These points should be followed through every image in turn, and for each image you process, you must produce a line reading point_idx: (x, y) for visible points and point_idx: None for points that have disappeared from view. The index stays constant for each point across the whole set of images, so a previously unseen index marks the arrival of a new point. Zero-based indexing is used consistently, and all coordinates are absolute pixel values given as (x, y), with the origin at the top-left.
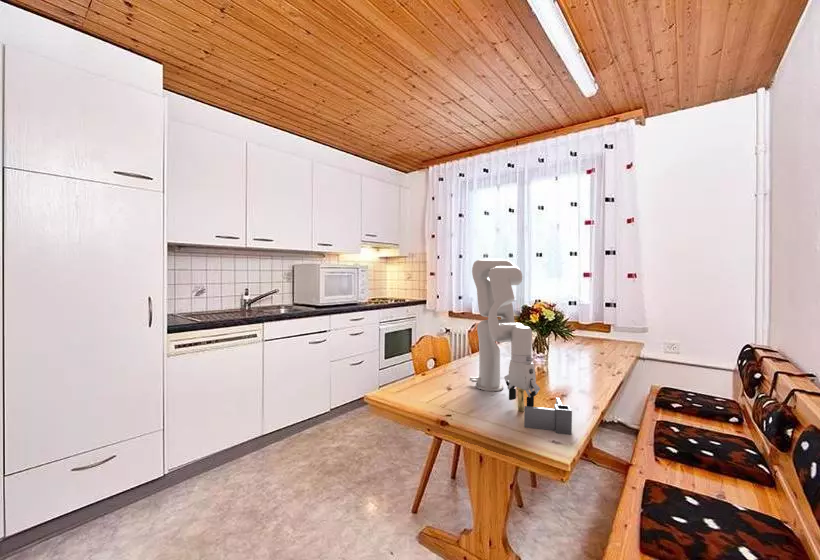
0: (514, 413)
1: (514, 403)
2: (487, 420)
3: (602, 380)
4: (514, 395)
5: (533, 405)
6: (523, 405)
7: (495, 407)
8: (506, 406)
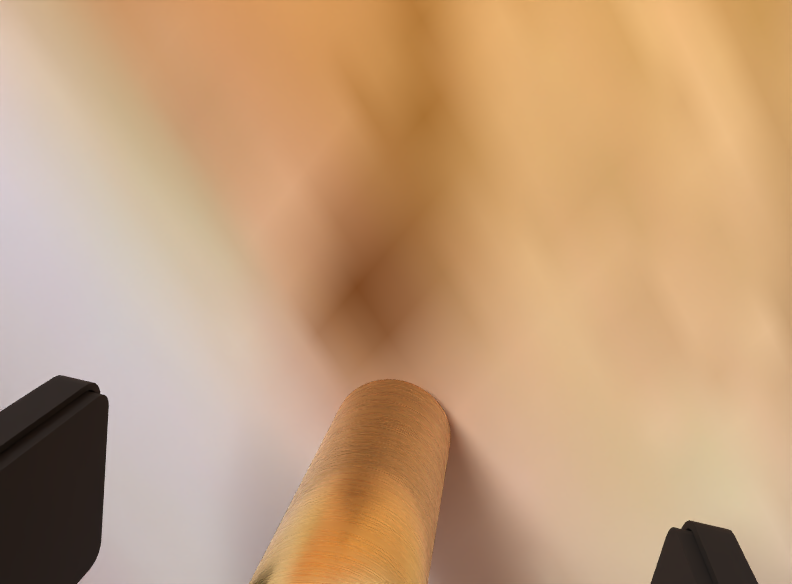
0: None
1: (47, 141)
2: None
3: None
4: (47, 490)
5: (730, 543)
6: (438, 509)
7: None
8: None
